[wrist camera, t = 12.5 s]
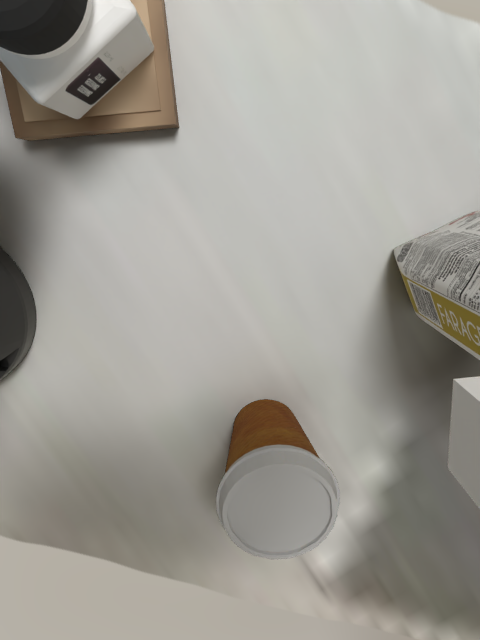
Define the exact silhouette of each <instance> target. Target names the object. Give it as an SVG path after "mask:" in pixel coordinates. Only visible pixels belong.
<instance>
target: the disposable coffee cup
mask: <svg viewBox="0 0 480 640" xmlns="http://www.w3.org/2000/svg"><path fill="white" fill-rule="evenodd" d="M339 503H340V491H339V486H338V482H337V480H336V478H335V476H334V474H333V472H332V470H331V469H330V468H329V467H328V466H327V465H326V464H325V463H324V462H323V461H322V460H321V459H320V458H319V456H318V455H317V453H316V451H315V450H314V448H313V446H312V445H311V443H310V441H309V439H308V438H307V436H306V434H305V433H304V431H303V429H302V428H301V426H300V424H299V422H298V421H297V419H296V417H295V416H294V414H293V413H292V411H291V410H290V409H289V408H288V407H287V406H286V405H284V404H282V403H280V402H278V401H274V400H268V399H265V400H258V401H254V402H252V403H250V404H248V405H246V406H245V407H244V408H243V409H242V410H241V411H240V412H239V413H238V415H237V416H236V419H235V421H234V426H233V432H232V437H231V443H230V448H229V454H228V459H227V465H226V470H225V474H224V476H223V478H222V480H221V482H220V484H219V487H218V491H217V495H216V509H217V515H218V517H219V520H220V522H221V524H222V526H223V527H224V529H225V530H226V532H227V534H228V536H229V537H230V538H231V540H232V541H233V542H234V543H235V544H236V545H237V546H238V547H239V548H241V549H242V550H244V551H245V552H247V553H250V554H252V555H254V556H258V557H263V558H267V559H287V558H293V557H296V556H299V555H302V554H304V553H306V552H308V551H311V550H312V549H314V548H315V547H317V546H318V545H319V544H320V543H321V542H322V541H324V540H325V539H326V537H327V536H328V535H329V533H330V532H331V530H332V529H333V527H334V524H335V521H336V518H337V511H338V507H339Z"/></svg>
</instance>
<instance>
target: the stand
mask: <svg viewBox="0 0 480 640" xmlns="http://www.w3.org/2000/svg"><path fill="white" fill-rule="evenodd" d="M130 1H131V2H132V4H133V5H134V6H135V8H136V10H137V12H138V14H139V16H140V18H141V20H142V22H143V24H144V26H145V28H146V30H147V32H148V34H149V37H150V39H151V41H152V43H153V45H154V50H153V52H152V53H151V54H150V55H149V56H148V57H146V58H145V59H144V60H143V61H142V62H141V63H140V64H139V65H138V66H137V67H136V68H134V69H133V70H132V71H131V72H130V73H129V74H128V75H127V76H126V77H125V78H124V79H122V80H121V81H120V82H119V83H118V84H117V85H116V86H115V87H114V88H113V89H112V90H110V91H109V92H108V93H107V94H106V95H105V96H104V97H103V98H102V99H101V100H100V101H98V102H97V103H96V104H95V105H94V106H93V107H92V108H91V109H90V110H89V111H88V112H86V113H85V114H84V115H83V116H82V117H81V118H79V119H74V118H72V117H69V116H67V115H65V114H62V113H60V112H58V111H55V110H53V109H50V108H48V107H46V106H43V105H41V104H38V103H37V102H36V101H34V99H33V98H32V97H31V96H30V95H29V94H28V92H27V91H26V90H25V89H24V88H23V86H22V85H21V84H20V83H19V82H18V81H17V79H16V78H15V77H14V76H13V75H12V73H11V72H10V71H9V70H8V69H7V68H6V66H5V65H4V64H3V63H2V62H1V60H0V69H1V74H2V78H3V83H4V88H5V92H6V97H7V101H8V106H9V110H10V115H11V119H12V124H13V128H14V133H15V138H19V139H23V140H28V141H31V140H43V139H54V138H65V137H77V136H88V135H99V134H111V133H122V132H134V131H145V130H156V129H168V128H179V123H178V114H177V105H176V97H175V88H174V80H173V71H172V63H171V54H170V45H169V37H168V28H167V20H166V11H165V3H164V0H130Z"/></svg>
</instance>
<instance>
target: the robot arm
mask: <svg viewBox="0 0 480 640" xmlns="http://www.w3.org/2000/svg"><path fill="white" fill-rule="evenodd" d="M35 327H36V310H35V304H34V299H33V296H32V292H31V290H30V287H29V285H28V283H27V281H26V279H25V277H24V275H23V273H22V272H21V270H20V269H19V267H18V266H17V265H16V263H15V262H14V261H13V260H12V259H11V258H10V257H9V255H8V254H7V253H6V252H4V251H3V250H2V249H1V248H0V380H2V379H3V378H4V377H5V376H6V375H7V374H9V373H10V372H11V371H12V370H13V369H14V368H15V367H16V366H17V365H18V364H19V363H20V362H21V361H22V359H23V358H24V357H25V355H26V354H27V352H28V350H29V348H30V346H31V343H32V341H33V337H34V333H35ZM448 469H449V470H450V472H451V473H452V474H453V476H454V477H455V478H456V479H457V481H458V482H459V483H460V484H461V486H462V487H463V488H464V490H465V491H466V492H467V493H468V495H469V496H470V497H471V498H472V500H473V501H474V502H475V504H476V505H477V506H478V507H479V509H480V376H479V377H469V378H459V379H453V392H452V408H451V423H450V439H449V455H448Z"/></svg>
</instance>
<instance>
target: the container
mask: <svg viewBox="0 0 480 640" xmlns="http://www.w3.org/2000/svg"><path fill="white" fill-rule="evenodd" d="M153 50H154V45H153V43H152V41H151V39H150V37H149V34H148V32H147V30H146V28H145V26H144V24H143V22H142V20H141V18H140V16H139V14H138V12H137V10H136V8H135V6H134V5H133V4H132V2H131V1H130V0H0V60H1V62H2V63H3V64H4V65H5V66H6V68H7V69H8V70H9V71H10V72H11V73H12V75H13V76H14V77H15V78H16V79H17V81H18V82H19V83H20V84H21V85H22V86H23V88H24V89H25V90H26V91H27V92H28V94H29V95H30V96H31V97H32V98H33V99H34V101H36V102H37V103H38V104H41V105H43V106H46V107H48V108H50V109H53V110H55V111H58V112H60V113H62V114H65V115H67V116H69V117H72V118H74V119H79V118H81V117H82V116H83V115H84V114H85V113H86V112H88V111H89V110H90V109H91V108H92V107H93V106H94V105H95V104H96V103H97V102H98V101H100V100H101V99H102V98H103V97H104V96H105V95H106V94H107V93H108V92H109V91H110V90H112V89H113V88H114V87H115V86H116V85H117V84H118V83H119V82H120V81H121V80H122V79H124V78H125V77H126V76H127V75H128V74H129V73H130V72H131V71H132V70H133V69H134V68H136V67H137V66H138V65H139V64H140V63H141V62H142V61H143V60H144V59H145V58H146V57H148V56H149V55H150V54H151V53H152V52H153Z"/></svg>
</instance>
